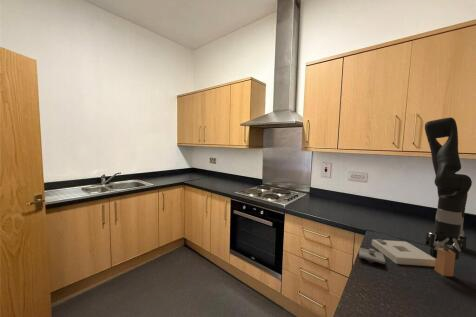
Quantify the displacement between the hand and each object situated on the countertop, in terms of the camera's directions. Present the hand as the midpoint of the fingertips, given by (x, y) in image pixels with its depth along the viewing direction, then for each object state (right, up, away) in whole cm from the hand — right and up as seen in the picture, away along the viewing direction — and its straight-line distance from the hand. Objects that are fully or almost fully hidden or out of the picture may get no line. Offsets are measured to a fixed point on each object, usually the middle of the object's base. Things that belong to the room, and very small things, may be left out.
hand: (443, 258), depth 86 cm
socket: (-6, -6, +15) cm, 17 cm away
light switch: (-26, -5, +8) cm, 27 cm away
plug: (0, -7, 0) cm, 7 cm away
